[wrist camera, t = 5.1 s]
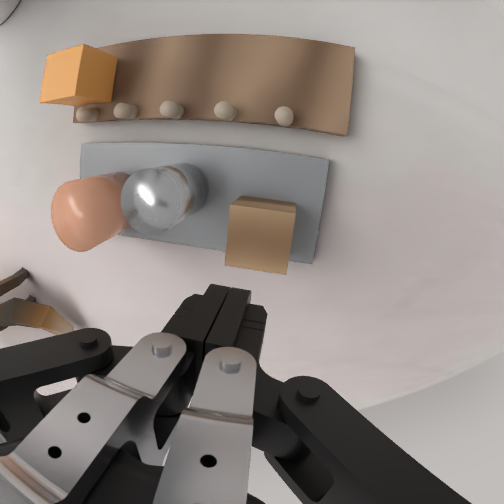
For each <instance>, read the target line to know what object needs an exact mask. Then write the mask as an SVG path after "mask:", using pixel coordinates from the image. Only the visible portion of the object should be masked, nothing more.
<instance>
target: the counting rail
mask: <svg viewBox="0 0 504 504" xmlns="http://www.w3.org/2000/svg"><path fill="white" fill-rule="evenodd" d="M96 49H98V50H101V51H103V52H106V53H108V54H110V55H113V56H115V57H118V60H117V66H116V72H115V78H114V85H113V92H112V100H111V102H104V103H95V104H87V105H80V106H75V108H74V117H73V123H88V122H101V121H117V120H144V119H184V120H212V121H229V122H242V123H253V124H263V125H273V126H281V127H289V128H296V129H303V130H310V131H316V132H323V133H328V134H334V135H340V136H346V135H347V132H348V124H349V114H350V105H351V94H352V83H353V70H354V55H355V48H354V47H349V46H344V45H339V44H334V43H328V42H322V41H315V40H308V39H301V38H292V37H282V36H269V35H251V34H202V35H184V36H172V37H162V38H153V39H146V40H139V41H132V42H126V43H121V44H115V45H110V46H105V47H101V48H96Z"/></svg>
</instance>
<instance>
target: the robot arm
mask: <svg viewBox="0 0 504 504" xmlns="http://www.w3.org/2000/svg"><path fill="white" fill-rule="evenodd" d="M19 1H20V0H0V24H2V23H3V22H4V21H5V20H6V19H7V18H8V17H9V15H10V14H11V13H12V12H13V10H14V9H15V8H16V6H17V5H18V3H19ZM250 300H251V291H250V290H244V289H238V288H233V287H232V288H230V287H226V286H221V285H215V284H210V286H209V287H208V289H207V290H206V292H205V294H204V295H198V294H194V295H192V296H190V297H188V298H186V299H185V300H184V301H183V303H182V304H181V305H180V307H179V308H178V309H177V311H176V312H175V314H174V315H173V316H172V318H171V319H170V320H169V322H168V323H167V324H166V326H165V327H164V329H163V330H162V331H161V332H160V333H152V334H149V335H147V336H145V337H143V338H142V339H141V340H140V341H139V342H138V343H137V344H136V345H135V346H134V347H127V346H113V345H112V343H111V338H110V336H109V335H108V333H106V332H105V331H103V330H100V329H97V328H85V329H80V330H76V331H72V332H68V333H64V334H60V335H56V336H52V337H48V338H44V339H40V340H36V341H32V342H28V343H23V344H19V345H15V346H10V347H6V348H2V349H0V504H265V503H264V502H262V501H261V500H259V499H257V498H256V497H254V496H252V495H250V494H248V493H247V489H248V478H249V468H250V457H251V446H253V447H255V448H257V449H260V450H262V451H264V455H265V457H266V459H267V461H268V462H269V463H270V464H271V466H272V467H273V468H274V469H275V471H276V472H277V473H278V474H279V476H280V477H281V478H282V479H283V481H284V482H285V483H286V484H287V486H288V487H289V488H290V489H291V490H292V491H293V493H294V494H295V495H296V496H297V497H298V498H299V500H300V501H301V502H302V503H303V504H471V503H470V502H469V501H467V500H466V499H465V498H463V497H462V496H460V495H459V494H458V493H456V492H455V491H454V490H453V489H451V488H450V487H449V486H448V485H446V484H445V483H444V482H442V481H441V480H440V479H438V478H437V477H436V476H435V475H433V474H432V473H431V472H430V471H428V470H427V469H426V468H424V467H423V466H422V465H421V464H420V463H418V462H417V461H416V460H415V459H413V458H412V457H411V456H410V455H409V454H407V453H406V452H405V451H404V450H403V449H401V448H400V447H399V446H398V445H396V444H395V443H394V442H393V441H392V440H390V439H389V438H388V437H387V436H386V435H384V433H382V432H381V431H380V430H379V429H378V428H376V427H375V426H374V425H373V424H372V423H371V422H369V421H368V420H367V419H366V418H365V417H364V416H363V415H362V414H360V413H359V412H358V411H357V410H356V409H355V408H354V407H352V406H351V405H350V404H349V403H348V402H347V401H346V400H345V399H343V398H342V397H341V396H340V395H339V394H338V393H337V392H336V391H335V390H333V389H332V388H331V387H330V386H329V385H328V384H327V383H325V382H324V381H322V380H320V379H317V378H314V377H310V376H297V377H293V378H291V379H288V380H287V381H285V382H281V381H279V380H276V379H274V378H272V377H270V376H269V375H267V374H266V373H265V372H264V371H263V370H262V368H261V367H260V365H259V359H260V354H261V349H262V343H263V337H264V331H265V325H266V319H267V313H266V311H265V309H264V307H263V306H260V305H254V304H250ZM74 377H76V380H77V383H78V384H77V385H76V386H75V387H74V388H73V389H70V390H67V391H63V392H60V393H56V394H52V395H49V396H43V395H40V394H39V393H38V392H37V391H36V389H37V388H39V387H41V386H45V385H49V384H52V383H56V382H60V381H63V380H67V379H70V378H74ZM192 396H193V397H192ZM191 398H192V400H191ZM190 400H191V403H190ZM189 403H190V406H189V408H188V405H189ZM169 447H170V449H169ZM168 449H169V453H168V456H167V459H166V462H165V465H164V466H162V463H163V460H164V457H165V455H166V453H167V451H168Z"/></svg>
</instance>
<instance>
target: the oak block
mask: <svg viewBox="0 0 504 504" xmlns="http://www.w3.org/2000/svg"><path fill="white" fill-rule="evenodd" d="M295 215H296V205H295V203H294V202H287V201H280V200H273V199H265V198H258V197H250V196H242V195H241V196H240V197H239V198H237V199H236V200H235V201H234V202H233V203H231V204H230V211H229V222H228V233H227V244H226V256H225V266H232V267H238V268H245V269H251V270H257V271H264V272H271V273H277V274H284V275H286V273H287V267H288V261H289V254H290V248H291V242H292V235H293V229H294V222H295Z"/></svg>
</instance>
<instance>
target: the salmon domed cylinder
mask: <svg viewBox="0 0 504 504" xmlns="http://www.w3.org/2000/svg"><path fill="white" fill-rule="evenodd" d="M129 177H130V175H128V174H126V173H123V172H114V173H109V174H103V175H98V176H93V177H88V178H83V179H78V180H74V181H69V182H66V183H64V184H63V185H61V186H60V187H59V188H58V190H57V191H56V193H55V195H54V197H53V201H52V206H51V216H52V223H53V226H54V229H55V231H56V233H57V235H58V237H59V239H60V240H61V241H62V242H63V243H64V245H66V246H67V247H68V248H70V249H72V250H74V251H77V252H84V251H88V250H90V249H91V248H93V247H95V246H97V245H99V244H100V243H102V242H104V241H106V240H108V239H110V238H111V237H113V236H115V235H117V234H119V233H121V232H123V231H125V230H127V229H128V228H130V227H132V226H131V225H130V224H129V223H128V222H127V220H126V219H125V217H124V214H123V212H122V208H121V192H122V188H123V186H124V184H125V182H126V180H127V179H128V178H129Z"/></svg>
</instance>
